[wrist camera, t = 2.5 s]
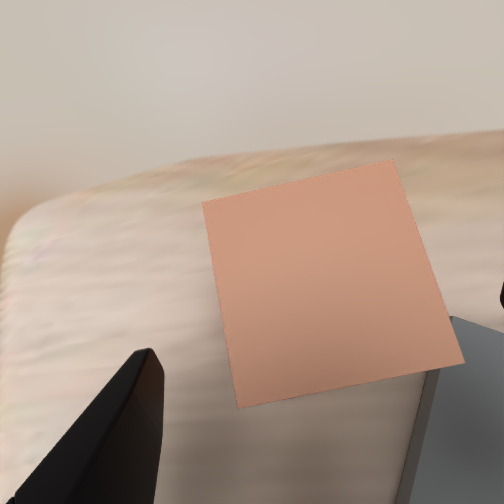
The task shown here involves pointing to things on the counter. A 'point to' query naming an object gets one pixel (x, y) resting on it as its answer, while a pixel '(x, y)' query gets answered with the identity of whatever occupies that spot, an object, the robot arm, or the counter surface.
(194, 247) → the counter surface
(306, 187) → the terracotta block
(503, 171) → the counter surface
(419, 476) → the slate board
